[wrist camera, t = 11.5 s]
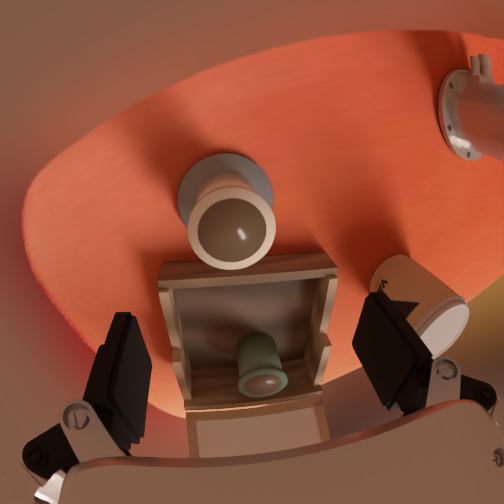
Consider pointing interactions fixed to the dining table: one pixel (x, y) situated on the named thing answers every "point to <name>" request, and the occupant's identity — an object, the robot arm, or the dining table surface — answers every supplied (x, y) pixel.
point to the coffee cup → (422, 301)
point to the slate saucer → (215, 166)
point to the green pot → (259, 366)
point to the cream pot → (230, 223)
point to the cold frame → (247, 324)
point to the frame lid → (256, 429)
